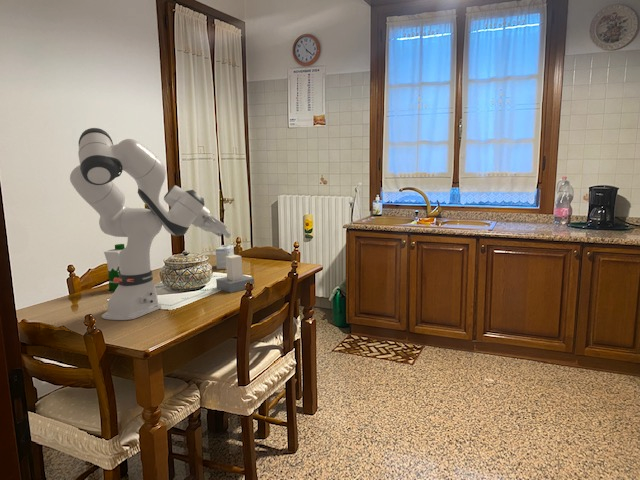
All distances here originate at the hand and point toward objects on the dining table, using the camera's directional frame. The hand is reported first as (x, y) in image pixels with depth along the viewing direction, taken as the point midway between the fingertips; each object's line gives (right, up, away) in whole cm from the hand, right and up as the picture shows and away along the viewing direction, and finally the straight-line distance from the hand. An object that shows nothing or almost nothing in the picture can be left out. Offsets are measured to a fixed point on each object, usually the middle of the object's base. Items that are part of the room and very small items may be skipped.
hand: (224, 235), depth 212 cm
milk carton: (-49, -24, +14) cm, 57 cm away
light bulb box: (-9, -16, +52) cm, 55 cm away
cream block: (+3, -19, +8) cm, 21 cm away
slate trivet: (+3, -23, +9) cm, 25 cm away
